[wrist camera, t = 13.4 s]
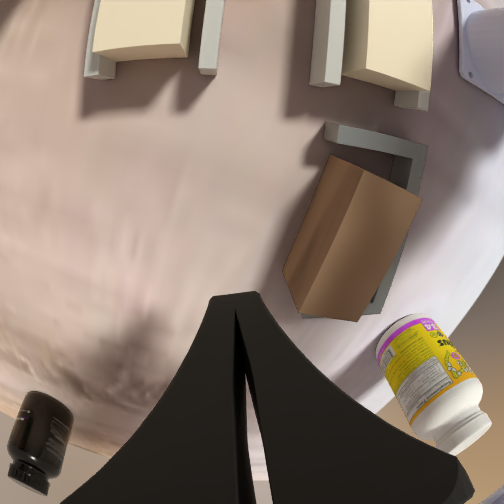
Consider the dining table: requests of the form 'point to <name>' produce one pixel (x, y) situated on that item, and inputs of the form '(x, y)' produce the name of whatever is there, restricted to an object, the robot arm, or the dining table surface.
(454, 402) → the supplement bottle
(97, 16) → the rack
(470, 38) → the robot arm
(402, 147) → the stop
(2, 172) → the dining table surface
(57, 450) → the supplement bottle
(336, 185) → the block
